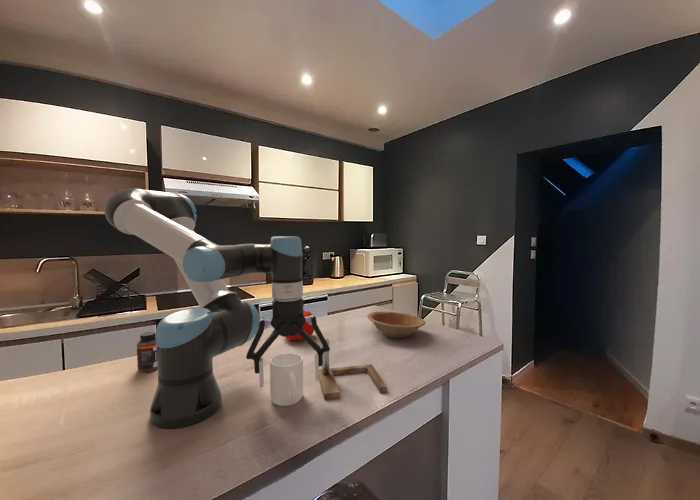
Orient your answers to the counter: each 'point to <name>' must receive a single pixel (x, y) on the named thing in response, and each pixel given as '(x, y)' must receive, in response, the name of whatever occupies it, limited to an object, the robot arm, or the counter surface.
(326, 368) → the hook post
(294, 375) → the mug
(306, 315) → the red lobed round piece
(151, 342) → the supplement bottle
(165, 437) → the counter surface
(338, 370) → the brown wooden u-shaped piece
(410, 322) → the bowl
